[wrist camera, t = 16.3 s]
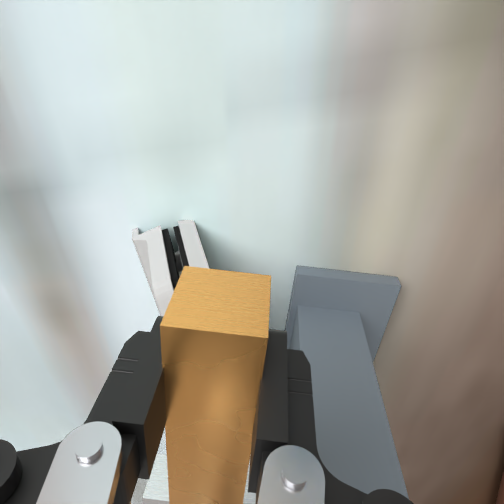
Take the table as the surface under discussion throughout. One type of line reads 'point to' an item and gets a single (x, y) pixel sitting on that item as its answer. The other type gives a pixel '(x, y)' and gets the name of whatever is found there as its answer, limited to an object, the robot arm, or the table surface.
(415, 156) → the table surface
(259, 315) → the ram
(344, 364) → the press frame
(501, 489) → the mallet
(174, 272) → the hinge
